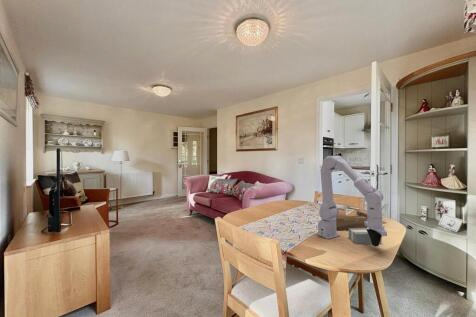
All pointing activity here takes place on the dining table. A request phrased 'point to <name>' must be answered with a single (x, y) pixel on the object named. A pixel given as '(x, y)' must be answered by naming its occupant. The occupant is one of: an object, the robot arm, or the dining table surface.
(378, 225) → the robot arm
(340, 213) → the plant pot
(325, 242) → the dining table surface
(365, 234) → the carton
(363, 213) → the packaged product
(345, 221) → the display podium
